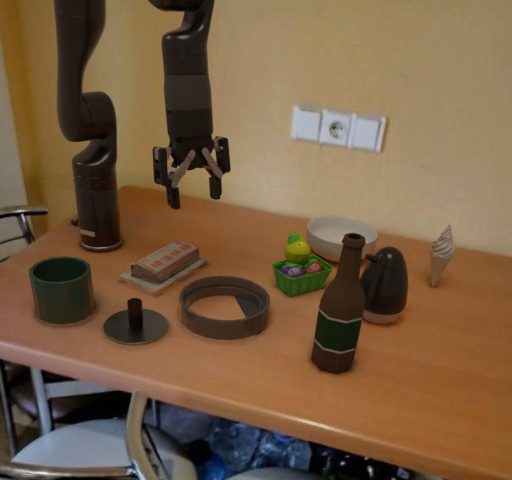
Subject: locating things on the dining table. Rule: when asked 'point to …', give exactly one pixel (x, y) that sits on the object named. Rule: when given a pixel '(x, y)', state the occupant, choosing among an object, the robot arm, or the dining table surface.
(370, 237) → the cereal bowl
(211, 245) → the dining table surface
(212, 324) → the pan
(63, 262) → the pot
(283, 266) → the fruit basket
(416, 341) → the dining table surface
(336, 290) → the beer bottle
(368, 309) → the penguin figurine
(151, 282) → the packaged product
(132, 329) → the lid
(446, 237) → the ice cream cone
